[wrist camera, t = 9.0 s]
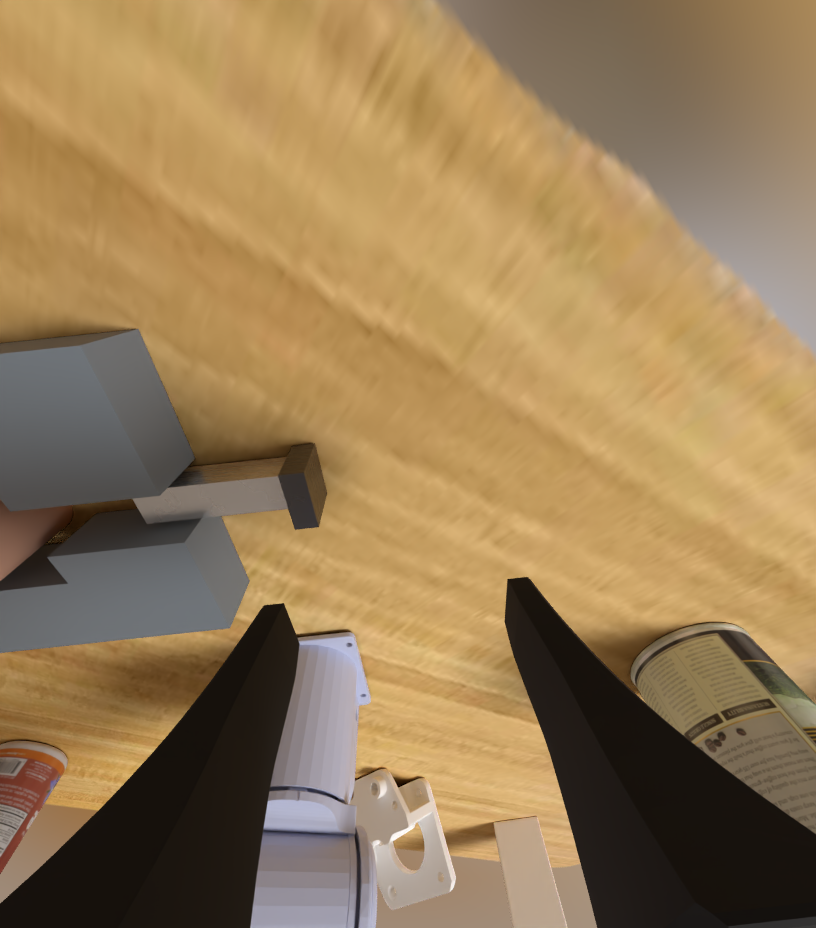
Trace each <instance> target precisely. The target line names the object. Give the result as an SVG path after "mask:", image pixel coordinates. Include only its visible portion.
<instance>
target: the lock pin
mask: <svg viewBox="0 0 816 928" xmlns="http://www.w3.org/2000/svg"><path fill="white" fill-rule="evenodd" d="M326 496H327V491H326V487H325V483H324V479H323V475H322V470H321V466H320V462H319V458H318V454H317V450H316V446H315V444H306V445H297V446H292V448H291V450H290V452H289V454H288V456H287V457H280V458H270V459H261V460H251V461H242V462H232V463H223V464H213V465H204V466H195V467H187V468H186V469H185V470H184V471H183V472H182V473H181V474H180V475H179V476H178V477H177V478H176V479H175V480H174V481H173V482H172V484H171V485H170V486H169V487H168V488H167V489H166V490H165V491H164V492H163V493H162V494H161V495H160V496H153V497H144V498H134V499H133V501H134V503H135V504H136V506H137V508H138V509H139V511H140V513H141V515H142V516H143V518H144V520H145V522H146V523H147V524H151V523H160V522H169V521H179V520H188V519H198V518H207V517H216V516H226V515H235V514H245V513H254V512H263V511H273V510H282V509H289V512H290V516H291V519H292V522H293V525H294V528H295V530H296V529H305V528H314V527H319V524H320V520H321V516H322V512H323V508H324V504H325V500H326Z"/></svg>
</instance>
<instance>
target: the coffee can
mask: <svg viewBox="0 0 816 928" xmlns="http://www.w3.org/2000/svg"><path fill="white" fill-rule="evenodd" d="M630 675H631V680H632V682H633V684H634V685H635V686H636V687H637V689H638V690H639V692H640V694H641V695H642V697H643V699H644V700H645V702H646V704H647V705H648V706H649V707H650V708H652V709H653V710H654V711H655V712H656V713H657V714H659V715H660V716H661V717H662V718H663V719H664V720H665V721H667V722H668V723H669V724H670V725H671V726H673V727H674V728H675V729H676V730H677V731H679V732H680V733H681V734H682V735H684V736H685V737H686V738H687V739H689V740H690V741H691V742H692V743H694V744H695V745H696V746H697V747H699V748H700V749H701V750H702V751H704V752H705V753H706V754H707V755H709V756H710V757H711V758H712V759H714V760H715V761H716V762H717V763H719V764H720V765H721V766H723V767H724V768H725V769H727V770H728V771H729V772H731V773H732V774H733V775H735V776H736V777H737V778H739V779H740V780H741V781H743V782H744V783H745V784H747V785H748V786H749V787H751V788H752V789H753V790H755V791H756V792H757V793H759V794H760V795H761V796H763V797H764V798H766V799H767V800H768V801H770V802H771V803H773V804H774V805H775V806H777V807H778V808H780V809H781V810H782V811H784V812H785V813H787V814H788V815H789V816H791V817H792V818H794V819H795V820H797V821H798V822H800V823H801V824H802V825H804V826H805V827H807V828H808V829H810V830H811V831H812V832H814V833H815V834H816V704H815V703H814V702H813V701H812V700H811V699H810V698H809V697H808V696H807V695H806V694H805V693H804V692H803V691H802V690H801V689H800V688H799V687H798V686H797V685H796V684H795V683H794V682H793V681H792V680H791V679H790V678H789V677H788V676H787V675H786V674H785V673H784V671H783V670H782V669H781V668H780V667H779V666H778V665H777V664H776V663H775V662H774V661H773V660H772V659H771V658H770V657H769V656H768V655H767V654H766V653H765V652H764V651H763V650H762V649H761V648H760V647H759V646H758V645H757V644H756V643H755V642H754V640H753V639H752V638H751V637H750V635H749V634H748V633H747V632H746V631H745V630H744V629H743V628H741V627H739V626H736V625H733V624H729V623H720V622H715V623H702V624H697V625H693V626H688V627H685V628H682V629H679V630H677V631H674V632H672V633H670V634H667V635H665V636H663V637H662V638H659V639H658V640H656V641H655V642H653V643H652V644H651V645H649V646H648V647H646V648H645V649H644V650H643V651H642V652H641V653H640V654H639V655H638V657H637V658H636V659H635V661H634V663H633V665H632V667H631V674H630Z"/></svg>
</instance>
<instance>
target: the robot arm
mask: <svg viewBox="0 0 816 928" xmlns="http://www.w3.org/2000/svg"><path fill="white" fill-rule="evenodd" d="M505 625H506V629H507V633H508V636H509V640H510V644H511V648H512V651H513V655H514V658H515V661H516V663H517V666H518V669H519V671H520V674H521V677H522V679H523V682H524V685H525V687H526V690H527V693H528V695H529V698H530V701H531V703H532V706H533V708H534V711H535V714H536V716H537V719H538V722H539V724H540V727H541V730H542V732H543V735H544V738H545V741H546V744H547V747H548V750H549V752H550V756H551V759H552V762H553V766H554V769H555V773H556V776H557V780H558V783H559V787H560V790H561V793H562V797H563V800H564V804H565V808H566V811H567V815H568V818H569V822H570V826H571V829H572V833H573V836H574V840H575V844H576V847H577V851H578V855H579V859H580V862H581V866H582V870H583V874H584V877H585V881H586V885H587V889H588V893H589V896H590V900H591V904H592V908H593V912H594V916H595V920H596V924H597V928H816V834H815V833H814V832H812V831H811V830H810V829H808V828H807V827H805V826H804V825H802V824H801V823H800V822H798V821H797V820H795V819H794V818H792V817H791V816H789V815H788V814H787V813H785V812H784V811H782V810H781V809H780V808H778V807H777V806H775V805H774V804H773V803H771V802H770V801H768V800H767V799H766V798H764V797H763V796H761V795H760V794H759V793H757V792H756V791H755V790H753V789H752V788H751V787H749V786H748V785H747V784H745V783H744V782H743V781H741V780H740V779H739V778H737V777H736V776H735V775H733V774H732V773H731V772H729V771H728V770H727V769H725V768H724V767H723V766H721V765H720V764H719V763H717V762H716V761H715V760H714V759H712V758H711V757H710V756H709V755H707V754H706V753H705V752H704V751H702V750H701V749H700V748H699V747H697V746H696V745H695V744H694V743H692V742H691V741H690V740H689V739H687V738H686V737H685V736H684V735H682V734H681V733H680V732H679V731H677V730H676V729H675V728H674V727H673V726H671V725H670V724H669V723H668V722H667V721H665V720H664V719H663V718H662V717H661V716H660V715H659V714H657V713H656V712H655V711H654V710H653V709H652V708H650V707H649V706H648V705H647V704H646V703H645V702H644V701H643V700H642V699H640V698H639V697H638V696H637V695H636V694H635V693H634V692H633V691H632V690H631V689H629V688H628V687H627V686H626V685H625V684H624V683H623V682H622V681H621V680H620V679H619V678H618V677H617V676H616V675H615V674H614V673H613V672H612V671H611V670H610V669H609V668H608V667H607V666H606V665H605V664H604V663H603V662H602V661H601V660H600V659H599V658H598V657H597V656H596V655H595V654H594V653H593V652H592V651H591V650H590V649H589V648H588V647H587V646H586V645H585V644H584V643H583V641H582V640H581V639H580V638H579V637H578V636H577V635H576V634H575V633H574V632H573V630H572V629H571V628H570V627H569V626H568V625H567V624H566V623H565V621H564V620H563V619H562V618H561V617H560V616H559V615H558V613H557V612H556V611H555V610H554V609H553V607H552V606H551V605H550V604H549V603H548V601H547V600H546V599H545V598H544V596H543V595H542V594H541V593H540V591H539V590H538V589H537V588H536V586H535V585H534V584H533V582H532V581H531V580H530V579H529V578H528V577H523V578H514V579H508V581H507V595H506V610H505ZM370 702H371V696H370V692H369V688H368V684H367V680H366V677H365V673H364V669H363V665H362V661H361V657H360V654H359V650H358V646H357V642H356V638H355V635H354V634H353V633H350V632H345V633H336V634H326V635H317V636H308V637H299V638H297V636H296V633H295V631H294V628H293V626H292V623H291V621H290V618H289V615H288V613H287V610H286V608H285V605H284V603H282V604H273V605H264V606H263V608H262V609H261V610H260V612H259V613H258V615H257V616H256V618H255V619H254V621H253V622H252V623H251V625H250V626H249V628H248V629H247V631H246V632H245V634H244V635H243V637H242V638H241V640H240V641H239V643H238V644H237V645H236V647H235V648H234V650H233V651H232V653H231V654H230V655H229V657H228V658H227V660H226V661H225V662H224V664H223V665H222V667H221V668H220V669H219V671H218V672H217V673H216V675H215V676H214V678H213V679H212V680H211V682H210V683H209V684H208V686H207V687H206V688H205V689H204V691H203V692H202V693H201V695H200V696H199V697H198V698H197V700H196V701H195V702H194V704H193V705H192V706H191V707H190V709H189V710H188V711H187V713H186V714H185V715H184V716H183V718H182V719H181V720H180V721H179V722H178V724H177V725H176V726H175V727H174V728H173V730H172V731H171V732H170V733H169V734H168V736H167V737H166V738H165V739H164V740H163V741H162V743H161V744H160V745H159V746H158V747H157V748H156V749H155V751H154V752H153V753H152V754H151V755H150V756H149V757H148V759H147V760H146V761H145V762H144V763H143V764H142V765H141V766H140V767H139V768H138V769H137V771H136V772H135V773H134V774H133V775H132V776H131V777H130V778H129V779H128V780H127V781H126V782H125V784H124V785H123V786H122V787H121V788H120V789H119V790H118V791H117V792H116V793H115V794H114V795H113V796H112V797H111V798H110V799H109V800H108V801H107V802H106V803H105V804H104V806H103V807H102V808H101V809H100V810H99V811H98V812H97V813H96V814H95V815H94V816H92V817H91V818H90V819H89V820H88V822H86V823H85V824H84V825H83V826H82V827H81V829H79V830H78V831H77V832H76V833H75V834H74V835H73V836H72V837H71V838H70V839H69V840H68V841H67V842H66V843H65V844H64V845H63V846H62V847H61V848H60V849H59V850H58V851H57V852H56V853H55V854H54V855H53V856H52V857H51V858H50V859H48V860H47V861H46V863H44V864H43V865H42V866H41V867H40V868H39V869H38V870H37V871H36V872H35V873H34V874H33V875H31V876H30V877H29V878H28V879H27V880H26V881H25V882H24V883H22V884H21V885H20V886H19V887H18V888H17V889H16V890H15V891H14V892H13V893H11V894H10V895H9V896H8V897H7V898H6V899H5V900H4V901H3V902H1V903H0V928H376V914H377V871H376V861H375V854H374V850H373V846H372V844H371V842H370V840H369V838H368V835H367V833H366V831H365V829H364V827H362V826H361V825H356V805H349V803H350V800H351V798H352V794H353V790H354V784H355V769H356V751H357V734H358V716H359V705H366V704H369V703H370Z"/></svg>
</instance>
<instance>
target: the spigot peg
mask: <svg viewBox="0 0 816 928" xmlns="http://www.w3.org/2000/svg"><path fill="white" fill-rule="evenodd" d="M72 516H73V508H72V505H68V506H59V507H50V508H40V509H31V510H21V511H12V512H10V511H9V510H8V508H7V507H6V506H5V505H4V503H3V502H2V501H1V500H0V581H1V580H2V579H3V578H5V577H6V576H7V575H8V574H9V573H11V572H12V571H13V570H14V569H15V568H17V567H18V566H19V565H20V564H21V563H23V562H24V561H25V560H26V559H27V558H29V557H30V556H31V555H32V554H33V553H34V552H36V551H37V550H38V549H39V548H40V547H42V546H43V545H44V544H45V543H46V542H48V541H49V540H50V539H51V538H52V537H54V536H55V535H56V534H57V533H58V532H60V531H61V530H62V529H63V528H64V527H66V526H67V525H68V524H69V523H70V521H71V519H72Z"/></svg>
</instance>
